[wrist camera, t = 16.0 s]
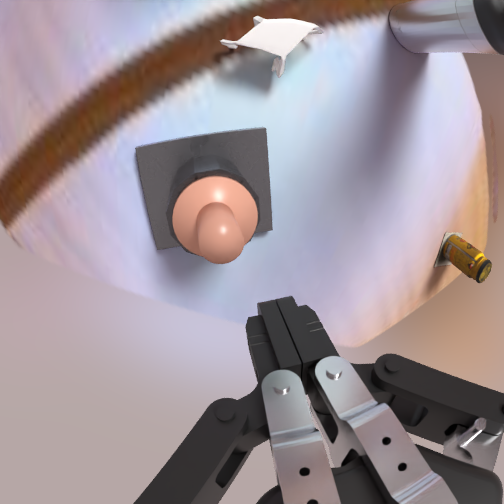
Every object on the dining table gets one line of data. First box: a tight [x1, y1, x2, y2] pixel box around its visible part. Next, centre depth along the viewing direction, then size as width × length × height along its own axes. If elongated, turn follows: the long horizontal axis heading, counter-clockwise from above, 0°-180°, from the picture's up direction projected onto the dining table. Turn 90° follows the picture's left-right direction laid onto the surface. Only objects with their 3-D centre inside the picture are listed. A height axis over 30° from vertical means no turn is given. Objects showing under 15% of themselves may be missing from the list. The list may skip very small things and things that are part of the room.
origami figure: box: [220, 16, 324, 78], centre depth 26 cm, size 12×8×5 cm
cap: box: [173, 176, 258, 264], centre depth 26 cm, size 8×8×8 cm
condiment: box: [434, 233, 492, 283], centre depth 48 cm, size 7×8×12 cm
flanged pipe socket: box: [135, 127, 273, 257], centre depth 32 cm, size 16×14×10 cm
